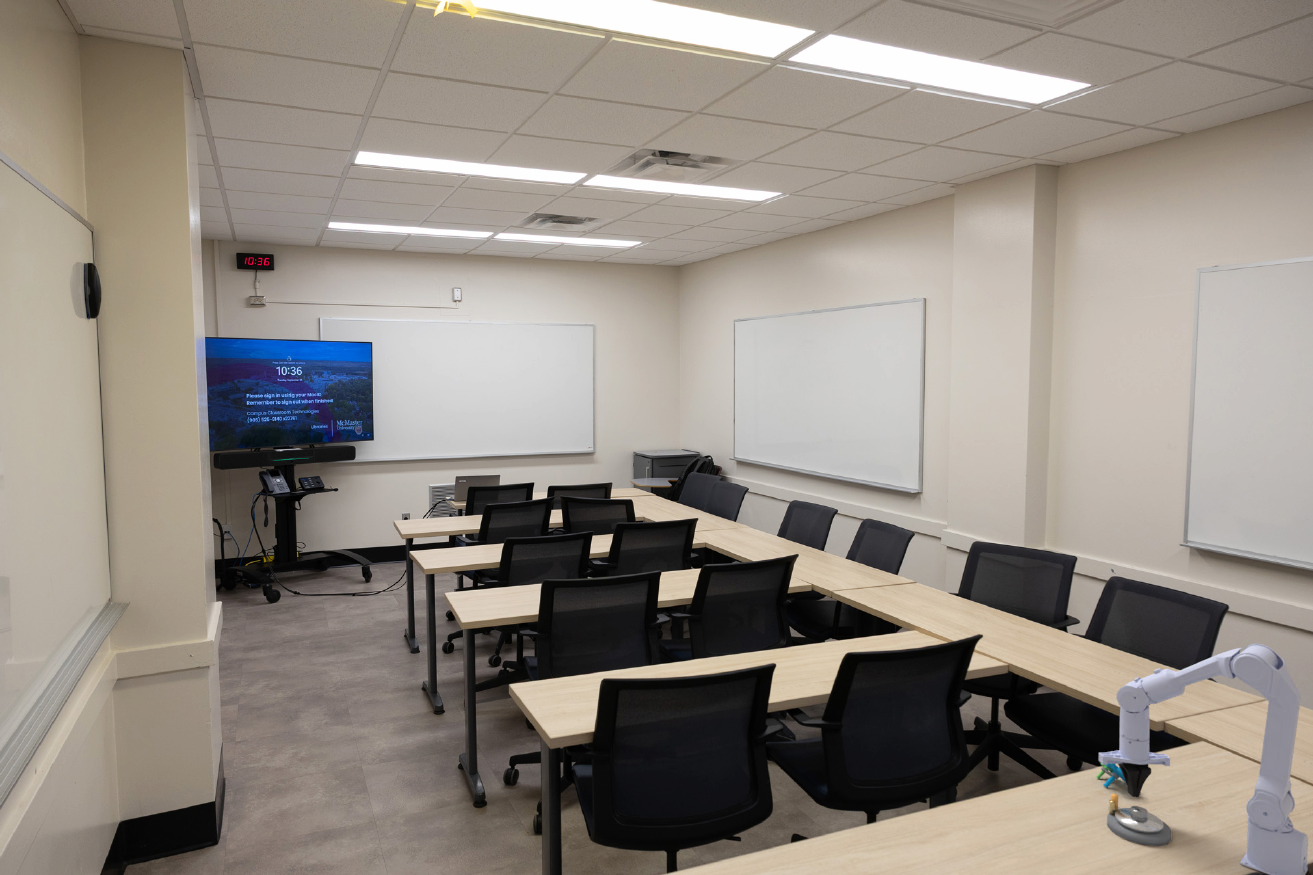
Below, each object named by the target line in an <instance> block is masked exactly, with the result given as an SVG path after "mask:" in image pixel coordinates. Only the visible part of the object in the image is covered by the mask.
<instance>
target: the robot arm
mask: <svg viewBox="0 0 1313 875" xmlns="http://www.w3.org/2000/svg"><path fill="white" fill-rule="evenodd" d="M1242 649H1243V650H1242ZM1241 650H1242V651H1241ZM1217 676H1223V677H1225V678H1228V679H1230V680H1234V679H1235V678H1237V679H1238V680H1240V681H1241V682H1243V683H1244V684H1246V685H1248V686H1249V687H1251V688H1253V689H1255V690H1256V691H1257V692H1259V693H1260V694H1261V696H1263V697H1264V698H1265V699H1266V700H1267V701H1268V706H1267V712H1266V718H1265V720H1266V721H1265V729H1264V736H1263V744H1262V752H1261V757H1260V766H1259V772H1258V773H1259V774H1258V778H1257V780H1256V785H1255V788H1254V792H1253V795H1252V797H1251V798H1250V799H1249V800H1247V803H1246V814H1248V815H1247V838H1246V839H1247V840H1246V841H1247V843H1246V845H1247V846H1246V853H1244V856H1243V857H1242V858H1241V860H1240V865H1242V866H1244V867H1247V868H1250V869H1253V870H1255V871H1257V872H1260V873H1263V874H1267V875H1306V874H1307V872H1308V870H1309V869H1308V851H1309V848H1308V847H1309V846H1308V845H1309V843H1308V842H1309V840H1308V834H1306V833H1305V832H1302V831H1300V830H1298V829H1296V828H1295V827H1294V824H1293V822H1292V820H1291V818H1290V817H1289V816H1290V814H1291V813H1292V812H1293V811H1294V809H1295V805H1296V803H1295V798H1294V796H1293V793H1292V782H1291V772H1292V766H1293V759H1294V758H1293V757H1294V750H1295V746H1296V745H1295V743H1296V736H1297V728H1298V722H1299V715H1300V707H1301V700H1302V697H1301V696H1302V695H1301V694H1302V693H1301V692H1300V690H1299V688H1298V687H1297V684H1296V682H1295V681H1294V678H1293V676H1291V673H1290V672H1289V669H1288V667H1287V664H1286V660H1285V659H1284V658H1283V657H1282V656H1281V655H1280V654H1278V653H1277V652H1276V651H1275V650H1274V649H1272V647H1270V646H1267V645H1265V644H1261V643H1252V644H1249V645H1247V646H1246V647H1244V648H1243V647H1238V648H1233V649H1230V650H1227V651H1224V652H1221V653H1219V654H1216V655H1213V656H1211V657H1209V658H1207V659H1204V660H1201V661H1199V662H1197V663H1195V664H1193V665H1192V664H1191V665H1190V666H1188V667H1184V668H1182V669H1181V670H1178V671H1176V670H1173V669H1170V668H1164V669H1163V668H1161V667H1159V668H1156V669H1154V670H1153V673H1152V674H1149V675H1147V676H1144V677H1142V678H1141V677H1140V676H1137V677H1135V678H1134V679H1133V680H1132V681H1129V682H1127V683H1126V684H1124V685H1123V686H1121V687H1120V688H1119V689H1118V691H1117V693H1116V700H1117V703H1118V704H1119V706H1120V711H1119V712H1120V713H1119V750H1117V749H1116V750H1114V751H1113V750H1111V751H1107V752H1098V762H1099V763H1100V764H1101V763H1102V764H1103V765H1107V764H1108V763H1110V764H1116V765H1118V768H1119V767H1120V769H1121V771H1122V773H1123V776H1124V778H1125V781H1126V783H1125V784H1126V788H1127V794H1129V795H1130V796H1131V797H1132V798H1140V795H1141V791H1142V788H1143V786H1144V784H1145V782H1146V781H1147V779H1148V778H1149V777H1150V775H1152V768H1151V767H1150V766H1149V765H1158V766H1159V765H1161V766H1162V765H1163V766H1165V767H1170V766H1171V757H1170V756H1169V755H1167V754H1166V753H1156V752H1151V751H1150V706H1151V705H1157V704H1159V703H1163V702H1165V701H1168V700H1171V699H1172V698H1176V697H1179V696H1182V695H1184V693H1185V689H1186V687H1187V686H1189V685H1192V684H1195V683H1199V682H1202V681H1205V680H1208V679H1211V678H1214V677H1217Z"/></svg>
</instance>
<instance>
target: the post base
mask: <svg viewBox="0 0 1313 875" xmlns="http://www.w3.org/2000/svg"><path fill="white" fill-rule="evenodd" d="M1108 806H1109V810H1108V811H1109V812H1108V814H1107V816H1106V819H1107V820H1106V825H1107V828H1108V829H1109V830H1110V831H1111V832H1112V833H1113V834H1115V835H1116V836H1117V837H1120V838H1122V839H1124V840H1126V841H1129V842H1131V843H1135V844H1138V845H1143V846H1147V847H1148V846H1149V847H1160V846H1162V845H1163V846H1166V845H1168V844H1170V843H1171V842H1172V829H1171V827H1170V826H1169V825H1168V824H1167V823H1166V822H1164V821H1163V820H1161V821H1162V822H1163V830H1162V831H1161V832H1159V833H1142V832H1138V831H1134V830H1131V829H1129V828H1127V827H1125V826H1123V825H1121V824H1120V823H1119V822H1118V821H1117V820H1116V818H1115V813H1114V812H1115V801H1113V800H1111V799H1109V805H1108ZM1170 841H1171V842H1170ZM1169 842H1170V843H1169ZM1165 844H1166V845H1165Z"/></svg>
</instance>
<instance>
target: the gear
mask: <svg viewBox="0 0 1313 875" xmlns="http://www.w3.org/2000/svg"><path fill="white" fill-rule="evenodd" d="M1100 765H1101V766H1102V767H1101V768H1100V770H1101V771H1100V772H1099V773H1098V774H1097V775H1096V778H1097V779H1098V780H1100V779H1101V778H1102V777H1103V776H1104V774H1106V775H1108V776H1110V777H1109V778H1108V779H1107V780H1106V781H1105V782H1104V783H1103V786H1104V787H1105V788H1107V789H1108V788H1109V787H1110V786H1111V785H1112V784H1113V782H1114V781H1115V780H1116V781H1117V780H1118V779H1119V778H1120V779H1121V780H1122V781H1123V782H1124V783H1125V784H1126V781H1125V778H1124V776H1123V773H1122V771H1121V769H1120V767H1119V766H1117V764H1110V763H1108V764H1107V765H1103V764H1102V763H1101V762H1100Z"/></svg>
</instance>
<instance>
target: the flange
mask: <svg viewBox="0 0 1313 875" xmlns="http://www.w3.org/2000/svg"><path fill="white" fill-rule="evenodd" d="M1110 800H1113V801H1115V812H1114V813H1115V818H1116V820H1117V821H1118V822H1119V823H1120V824H1121V825H1123V826H1125V827H1127V828H1129V829H1131V830H1134V831H1138V832H1142V833H1159V832H1161V831H1162V830H1163V822H1164V821H1163V820H1162V819H1161V818H1160V817H1158V816H1157V815H1155V814H1153V813H1151V812H1149V811H1148V810H1147V808H1146V807H1142V806H1140V805H1138V806H1137V805H1133V806H1132V805H1131V806H1130V807H1119V795H1118V794H1117V793H1111V794H1110ZM1107 808H1108V811H1109V805H1107ZM1162 821H1163V822H1162Z"/></svg>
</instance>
